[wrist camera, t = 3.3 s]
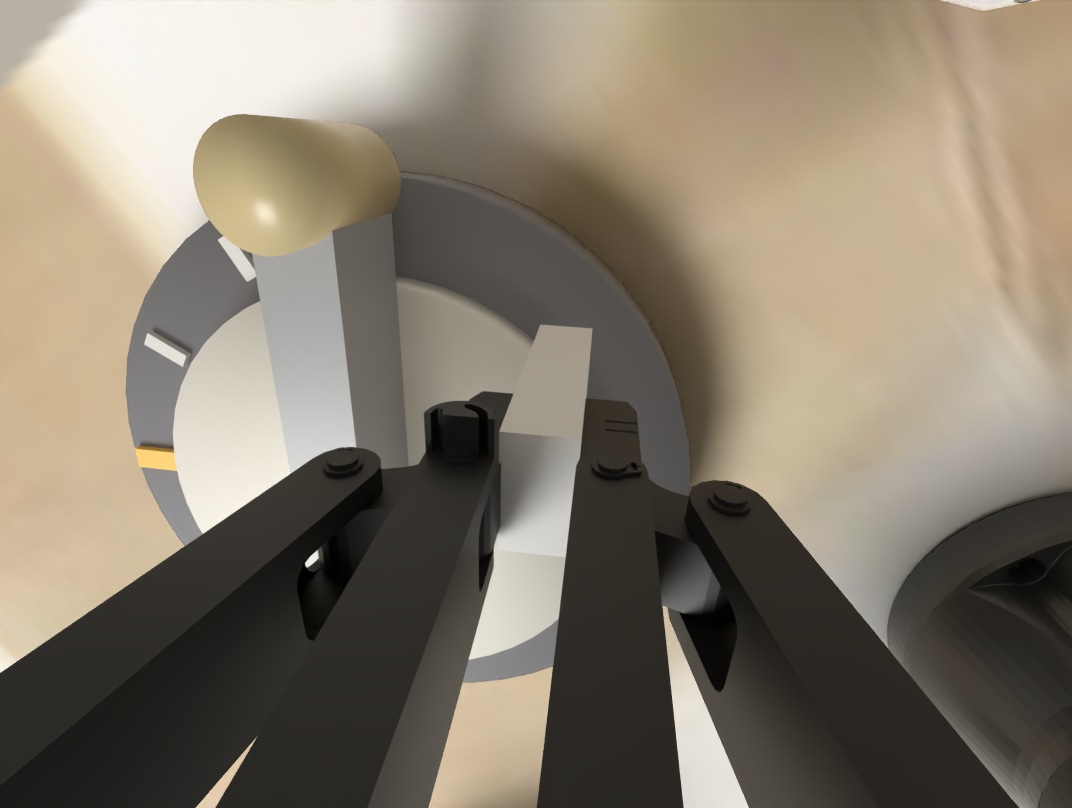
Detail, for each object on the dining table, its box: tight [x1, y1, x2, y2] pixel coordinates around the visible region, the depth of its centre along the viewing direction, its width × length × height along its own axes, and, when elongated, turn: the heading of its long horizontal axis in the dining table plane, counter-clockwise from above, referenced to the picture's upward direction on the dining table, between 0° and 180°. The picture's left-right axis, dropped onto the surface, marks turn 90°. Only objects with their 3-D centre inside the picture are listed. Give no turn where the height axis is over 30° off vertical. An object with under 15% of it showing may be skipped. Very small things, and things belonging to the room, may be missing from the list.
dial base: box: [126, 172, 691, 683], centre depth 27 cm, size 26×26×3 cm
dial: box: [173, 114, 566, 660], centre depth 21 cm, size 24×19×7 cm
